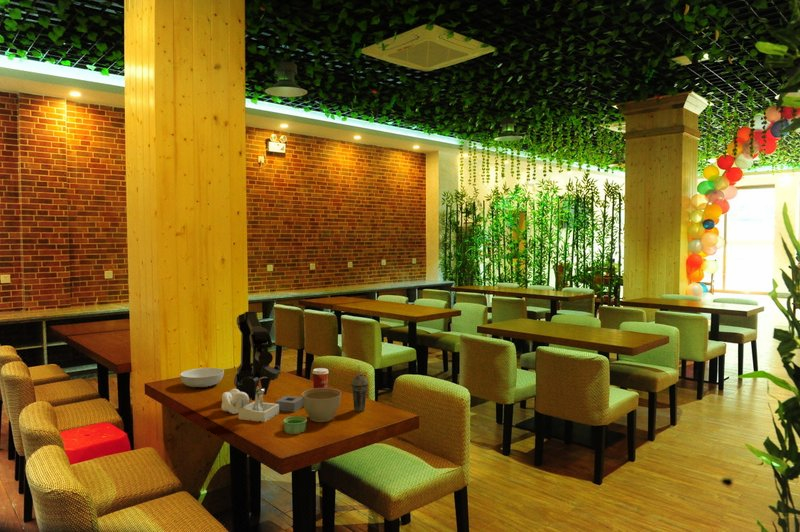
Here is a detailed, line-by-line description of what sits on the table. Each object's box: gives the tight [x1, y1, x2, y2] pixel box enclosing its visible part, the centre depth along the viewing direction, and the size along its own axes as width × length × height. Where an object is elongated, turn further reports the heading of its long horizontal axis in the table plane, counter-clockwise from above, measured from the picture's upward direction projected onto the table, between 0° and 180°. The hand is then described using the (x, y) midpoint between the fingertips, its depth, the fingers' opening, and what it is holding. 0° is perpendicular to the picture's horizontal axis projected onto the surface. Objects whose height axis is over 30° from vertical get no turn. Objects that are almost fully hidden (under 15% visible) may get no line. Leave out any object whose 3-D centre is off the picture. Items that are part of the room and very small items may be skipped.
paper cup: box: [311, 367, 329, 389], centre depth 252 cm, size 8×8×14 cm
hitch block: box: [275, 395, 304, 413], centre depth 238 cm, size 9×9×4 cm
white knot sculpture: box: [221, 388, 250, 415], centre depth 233 cm, size 11×12×9 cm
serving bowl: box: [179, 367, 225, 388], centre depth 273 cm, size 21×21×7 cm
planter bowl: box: [301, 387, 342, 423], centre depth 224 cm, size 16×16×11 cm
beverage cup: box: [351, 365, 369, 413], centre depth 236 cm, size 7×7×20 cm
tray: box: [238, 401, 280, 423], centre depth 226 cm, size 12×12×4 cm
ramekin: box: [283, 415, 308, 435], centre depth 210 cm, size 9×9×4 cm
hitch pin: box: [254, 387, 265, 411], centre depth 226 cm, size 5×5×10 cm
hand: (259, 397), depth 226 cm, fingers open, 9 cm apart
